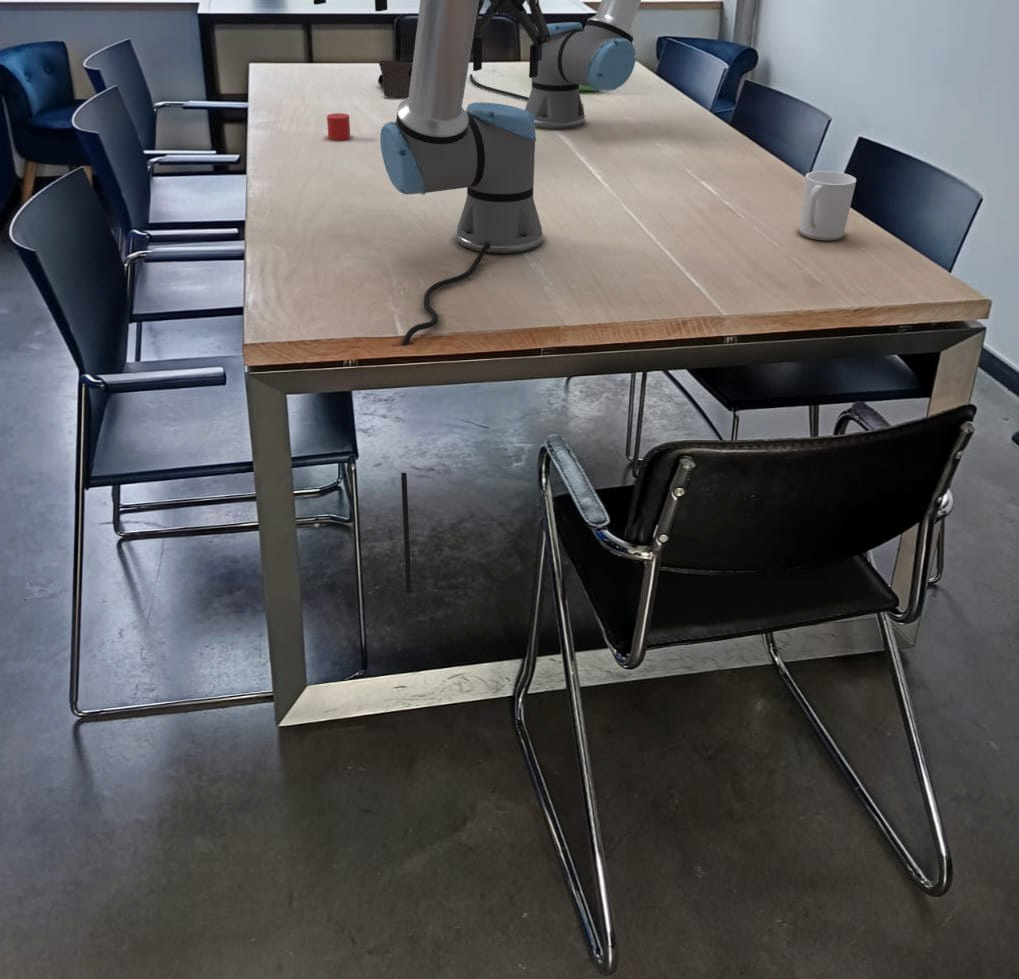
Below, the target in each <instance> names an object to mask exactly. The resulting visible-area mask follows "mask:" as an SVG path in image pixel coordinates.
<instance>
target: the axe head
mask: <svg viewBox="0 0 1019 979" xmlns="http://www.w3.org/2000/svg"><path fill="white" fill-rule="evenodd" d="M378 66H379V68H380V72H381V74H379V75H378V79H377V84H378V85H379V86H380V87H381V88H382V89H383V95H384V96H385V97H388V98H394V99H395V98H396V99H403V98H404V99H407V98H408V97H409V90H410V82H411V74H412V66H413V62H410V61H408V62H407V61H397V60H388V59H387V60H380V61H379V62H378Z"/></svg>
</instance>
